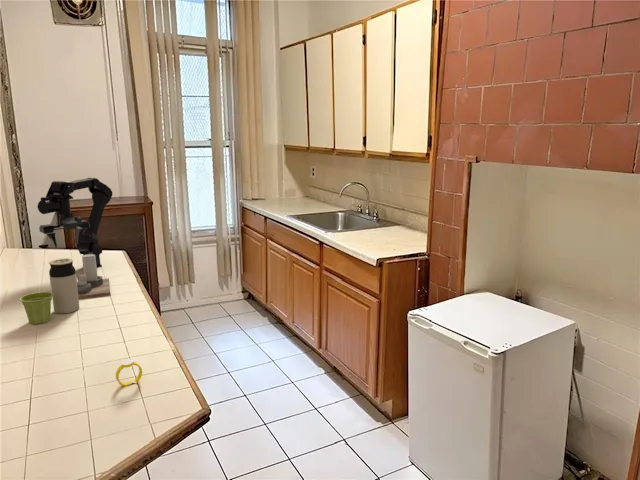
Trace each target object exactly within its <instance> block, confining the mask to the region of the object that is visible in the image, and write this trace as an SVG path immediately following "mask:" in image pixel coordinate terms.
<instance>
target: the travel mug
mask: <svg viewBox="0 0 640 480" xmlns="http://www.w3.org/2000/svg"><path fill="white" fill-rule="evenodd" d="M73 262H74V259H73V258H69V257H67V258H63V257H62V258H57V259H52V260H50V261H49V262H48V264H49V266H50V267H49V268H50V269H49V271H48V272H49V281H50V282H49V283H50V289H51V290H50V291H51V293H52V294H53V296H52V306H53V312H54V313H55V314H60V315H61V314H62V315H63V314H64V315H65V314H71V313H74V312H76V311H77V310H79V309H80V302H79V301H80V299H78V290H77V282H78V280H77V274H76V273H77V272H76V267H74V265H73Z"/></svg>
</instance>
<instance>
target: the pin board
mask: <svg viewBox="0 0 640 480" xmlns="http://www.w3.org/2000/svg"><path fill="white" fill-rule="evenodd" d="M97 276H98V280H95V281H87V280H86V274H84V273H80V274H76V279H77V290H78V299H79V300H83V299H88V298H89V299H90V298H98V297H105V296H111V294H112V293H111V287H110V278H109V277H108V278H107V277H105V278H103V275H97Z"/></svg>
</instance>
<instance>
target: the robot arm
mask: <svg viewBox="0 0 640 480" xmlns="http://www.w3.org/2000/svg"><path fill="white" fill-rule="evenodd" d="M87 188H88V191H89V193H90V194H91V199H92V203H93V204H92V207H91V209H90V214H89V217H88V220H86V219H82V217H80V216H75V217H74V216H73V213H72V208H71V200H73V199H74V196H72V195H71V194H72V193H74V192H75V191H78V190H79V191H80V190H82V189H87ZM112 198H113V191H112V189H111V188H110V187H109V186H108V185H106V184H105V183H103V182H101V181H100V180H99V179H98V178H97V177H87V178H82V179H75V180H72V181H70V180H69V181H64V180H63V181H59V180H58V181H55V180H54V181H52V182H51V183H50V186H49V188H48V191H47V193H46V195H45V197H44V196H41V197H40V200H39V202H38V203H37V205H36V206H37V210H38V212H39V213H40V214H42V215H46V214H53V213H54V215H55V216H56V222H55V225H54V224H50V223H49V224H40V226H39V232H40V233H41V234H45V235H47V237H48V238H49V239H50V242H51V243H52V244H53V246H54V248H56V249H57V247H58V246H57V240H56V232H55V231H56V230H65V231H71V230H75V237H76V239H75V240H76V242H75V243H76V248H77V250H78V253H79V254H80V255H82V256H83V255H86V254H95V257H96V266H97V268H100V267H102V266H103V265H102V264H101V258H100V257H101V256H100V255H101V254H103V251H104V250H103V247H102V246H100V245H99V238H98V235H97V234H98V230H99V227H100V224H101V220H102V217H103V213H104V210H105V207H106V205H108V204H109V203H110V202H111V199H112Z"/></svg>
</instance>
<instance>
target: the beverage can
mask: <svg viewBox="0 0 640 480" xmlns="http://www.w3.org/2000/svg"><path fill="white" fill-rule="evenodd" d="M81 256H82V258H81V259H82V269H83V274H86V280H87V281H95V280H98V276H99V275H98V267H97V266H96V257H95V254H86V255H83V254H82V255H81Z"/></svg>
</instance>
